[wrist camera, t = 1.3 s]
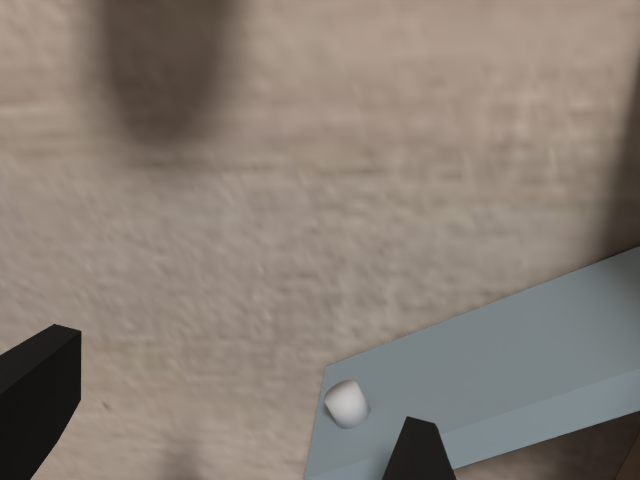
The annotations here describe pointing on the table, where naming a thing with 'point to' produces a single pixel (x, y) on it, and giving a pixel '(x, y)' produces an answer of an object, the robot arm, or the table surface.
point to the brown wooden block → (631, 463)
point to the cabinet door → (490, 375)
